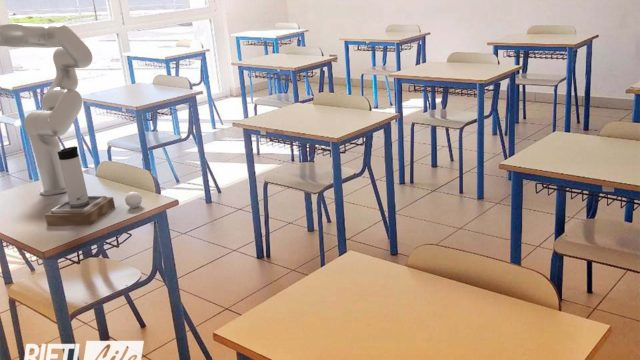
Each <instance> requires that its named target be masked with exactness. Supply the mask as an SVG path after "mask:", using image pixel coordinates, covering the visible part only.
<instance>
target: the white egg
mask: <svg viewBox="0 0 640 360" xmlns="http://www.w3.org/2000/svg"><path fill="white" fill-rule="evenodd" d="M142 201H143V197H142V195H141V194H140V193H139V192H137V191H130V192H129V193H127V194H126V195H125V198H124V202H125V204H126V205H127V206H128V207H129V208H131V209H135V208H138V207H139V206H140V205H141V204H142Z"/></svg>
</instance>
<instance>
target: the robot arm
mask: <svg viewBox="0 0 640 360" xmlns="http://www.w3.org/2000/svg"><path fill="white" fill-rule="evenodd" d="M0 47H10V48H37V49H38V48H41V49H43V48H44V49H49V48H50V49H52V48H53V49H54V48H56V49H55V50H54V52H53V56H52V59H53V63H54V67H55V72H56V75H55V78H54V80H53V81H52V83H51V85H50V86H49V87H48V89H47V91H46V92H45V94H44V96H43V97H42V99H41V106H42V108H43V109H44V110H33V111H31V112H29V113H28V114H27V115H26V116H25V118H24V121H23V122H24V123H23V124H24V129H25V132H26V134H27V136H28V138H29V141H30V143H31V146H32V150H33V154H34V157H35V161H36V165H37V169H38V173H39V177H40V180H41V185H42V187H41V188H40V190H39V193H40V195H42V196H54V195H59V194H63V193H67V191H66V187H65V183H64V178H63V174H62V170H61V166H60V161H59V156H58V151H61V150H62V148H61V144H60V142H59V140H58V138H57V137H62V136H64V135H65V134H66V133H68V131H70V128H71V127H72V125H73V124H74V122H75V120H76V119H77V117H78V115H79V114H80V112H81V109H82V107H83V98H82V95H81V93H79V91H77V88H78V85H79V79H78V74H77V73H76V69H84V68H88V67H89V66H90V65H91V64H92V61H93V54H92V51H91V50H90V48H89V47H88V46H87V44H85V42H84V41H83V40H82V39H81V38H80V37H79V36H78V35H77V33H75V32H74V31H73V30H72V29H71V28H70V27H69V26H67V25H66V24H63V23H57V24H56V23H55V24H38V23H37V24H35V23H23V22H21V23H19V22H18V23H14V22H13V23H3V24H0ZM1 92H2V87H1V86H0V96H1V94H2V93H1ZM0 112H1V108H0Z"/></svg>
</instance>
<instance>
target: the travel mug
mask: <svg viewBox="0 0 640 360" xmlns="http://www.w3.org/2000/svg"><path fill="white" fill-rule="evenodd" d="M78 149H79V148H78V146H74V145H73V146H70V147H66V148H61V151H58V156H59V161H60V166H61V170H62V174H63V178H64V183H65V187H66V191H67V192H66V195H67V198H68V199H67V200H69V204H70V206H71V207H81V206H84V205H86V204H88V203H89V199H88V196H89V194H88V190H87V187H86V186H87V185H86V180H85V177H84V173H83V169H82V164H81V160H80V159H81V158H80V155H79V152H78Z"/></svg>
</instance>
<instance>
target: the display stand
mask: <svg viewBox="0 0 640 360" xmlns="http://www.w3.org/2000/svg"><path fill="white" fill-rule="evenodd" d="M88 199H89V203H88V204H86V205H84V206H81V207H71V206H70V204H69V200H68V199H67V200H65V201H64V202H62V203H60V204H59V205H57V206H55V207H53V208H52V209H51V210H50V211H48V212H46V213H45V214H44V218H45V222H46V226H47V227H90V226H91V225H93V224H94V223H96V222H97V221H99V220H100V219H101V218H103V217H104V216H106V215H107V214H108V213H110V212H111V211H113V210H114V209H115V208H116V204H115V200H114V197H113V196H107V195H88Z"/></svg>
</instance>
